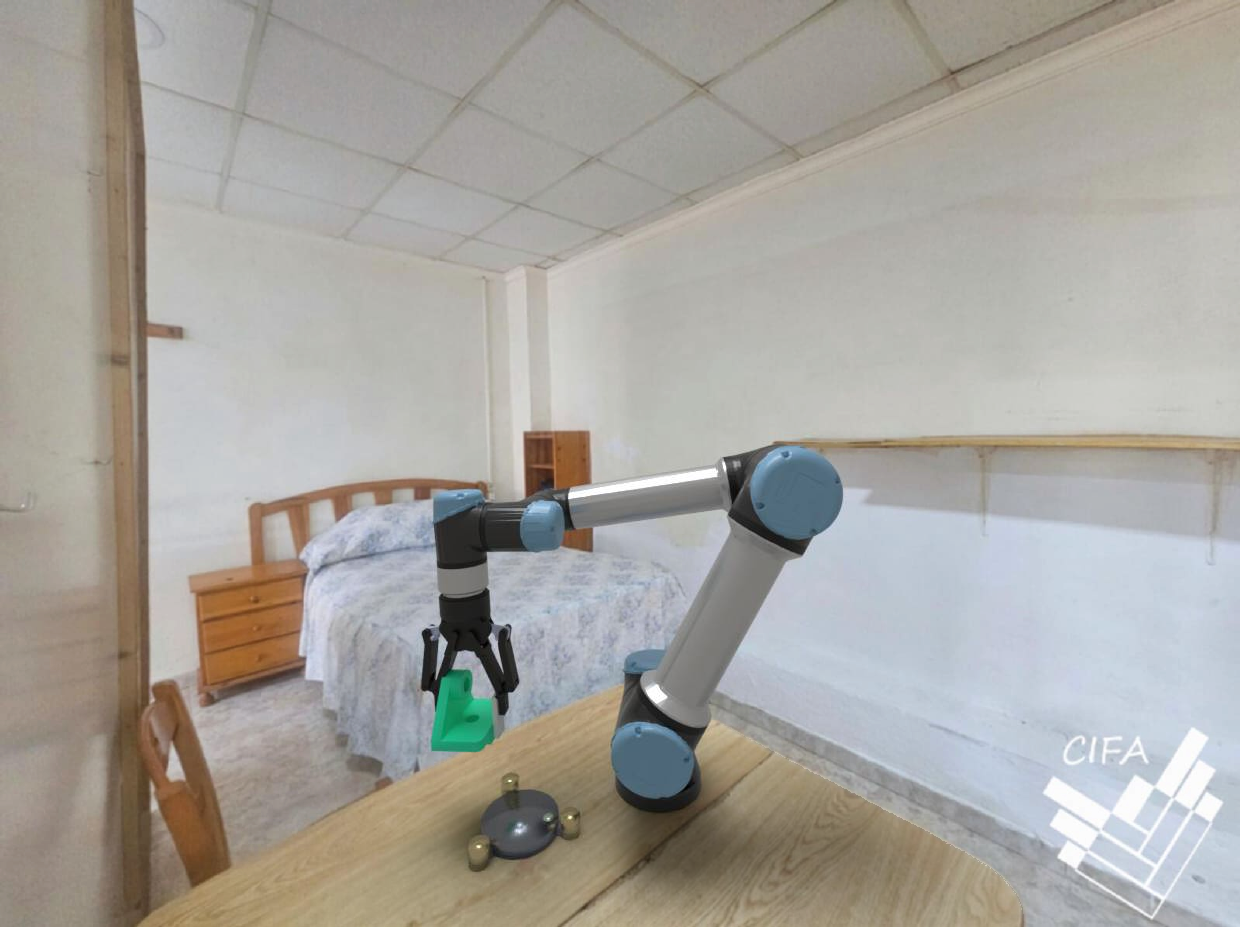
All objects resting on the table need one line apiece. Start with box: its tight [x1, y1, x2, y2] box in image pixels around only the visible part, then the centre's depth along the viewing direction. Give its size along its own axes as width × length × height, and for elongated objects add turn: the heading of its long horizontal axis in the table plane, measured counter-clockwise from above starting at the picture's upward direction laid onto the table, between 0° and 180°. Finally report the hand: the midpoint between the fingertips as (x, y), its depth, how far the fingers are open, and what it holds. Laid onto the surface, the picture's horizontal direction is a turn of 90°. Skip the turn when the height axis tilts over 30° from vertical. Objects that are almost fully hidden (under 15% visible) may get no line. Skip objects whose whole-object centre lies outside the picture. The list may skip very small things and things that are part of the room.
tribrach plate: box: [467, 772, 581, 872], centre depth 81 cm, size 16×17×3 cm
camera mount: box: [430, 668, 506, 753], centre depth 81 cm, size 12×8×10 cm, turn 173°
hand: (473, 732), depth 81 cm, fingers closed on camera mount, 8 cm apart
